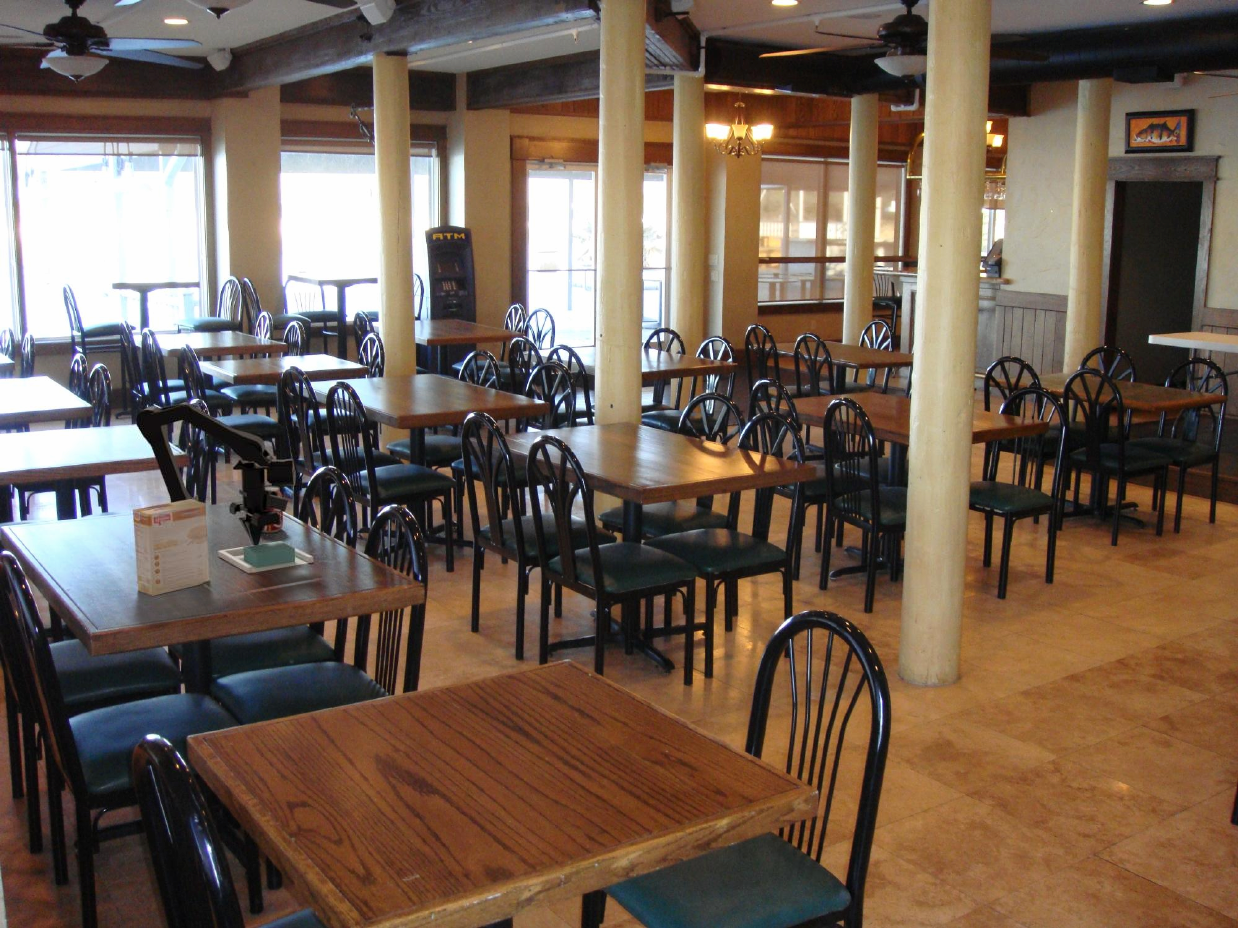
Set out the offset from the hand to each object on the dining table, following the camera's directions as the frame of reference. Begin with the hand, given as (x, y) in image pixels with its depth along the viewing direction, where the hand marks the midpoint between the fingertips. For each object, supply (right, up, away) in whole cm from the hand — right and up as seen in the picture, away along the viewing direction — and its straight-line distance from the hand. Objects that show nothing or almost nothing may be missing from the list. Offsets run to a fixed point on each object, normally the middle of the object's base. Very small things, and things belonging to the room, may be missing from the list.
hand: (255, 545), depth 311 cm
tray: (+4, -4, -4) cm, 6 cm away
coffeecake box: (-11, -8, -26) cm, 29 cm away
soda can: (-4, +2, +27) cm, 28 cm away
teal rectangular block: (+5, -4, -6) cm, 8 cm away
